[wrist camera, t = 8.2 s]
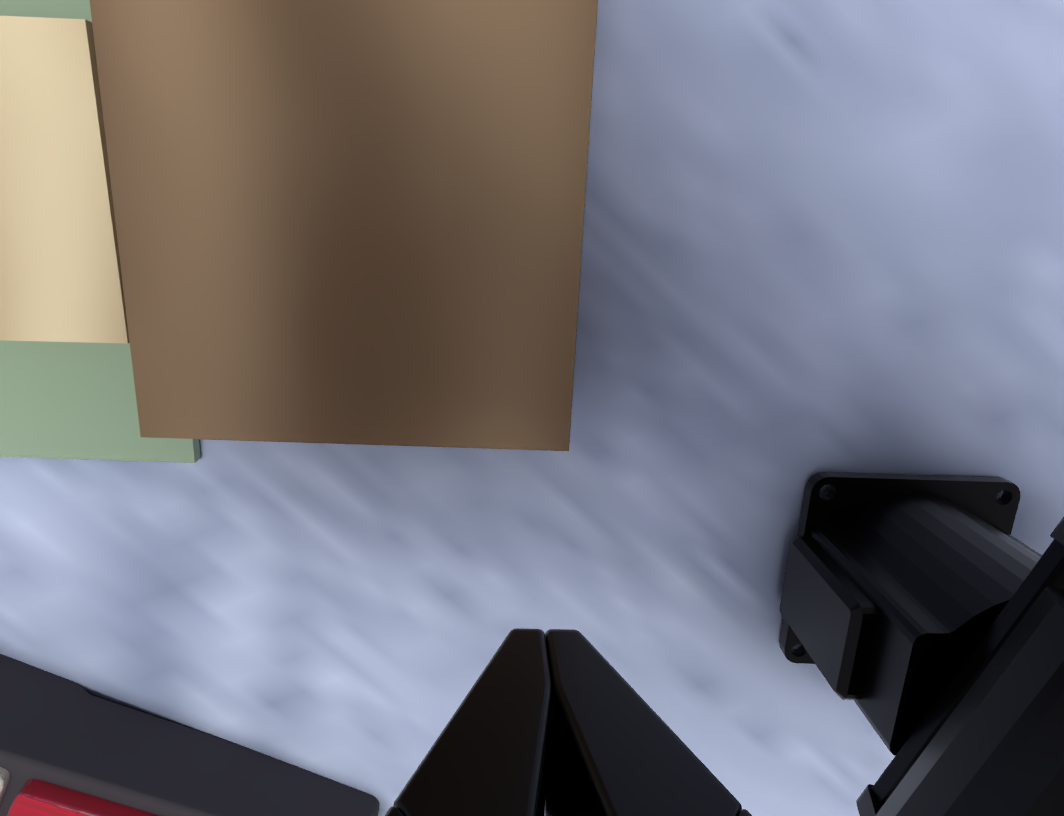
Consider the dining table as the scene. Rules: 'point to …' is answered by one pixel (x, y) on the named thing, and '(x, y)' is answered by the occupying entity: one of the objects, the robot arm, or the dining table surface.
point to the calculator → (139, 762)
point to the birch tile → (55, 189)
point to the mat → (74, 371)
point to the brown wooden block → (350, 215)
